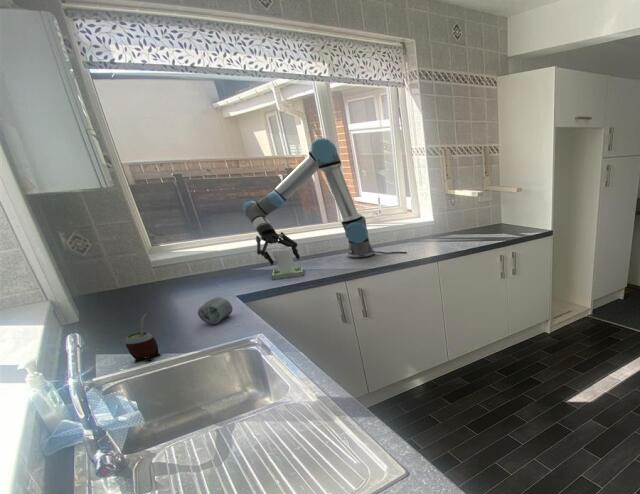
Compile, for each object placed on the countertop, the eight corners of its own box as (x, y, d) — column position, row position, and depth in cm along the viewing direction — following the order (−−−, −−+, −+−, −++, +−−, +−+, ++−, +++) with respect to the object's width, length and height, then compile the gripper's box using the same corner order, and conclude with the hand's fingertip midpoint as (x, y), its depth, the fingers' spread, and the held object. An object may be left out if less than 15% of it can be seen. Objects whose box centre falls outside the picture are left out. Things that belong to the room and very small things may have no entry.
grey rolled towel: (221, 318, 153) (204, 294, 152) (200, 330, 154) (184, 307, 153) (245, 314, 167) (230, 291, 165) (226, 325, 168) (211, 303, 166)
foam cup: (278, 272, 222) (271, 248, 216) (297, 270, 226) (291, 246, 220) (278, 277, 214) (270, 251, 209) (297, 274, 218) (291, 249, 212)
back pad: (303, 270, 228) (302, 266, 227) (303, 275, 218) (302, 271, 217) (274, 274, 222) (272, 270, 221) (272, 279, 213) (271, 275, 212)
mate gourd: (131, 359, 132) (110, 314, 125) (162, 350, 137) (143, 307, 131) (136, 366, 127) (115, 320, 121) (168, 356, 133) (148, 312, 126)
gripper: (286, 229, 230) (307, 260, 228) (238, 236, 212) (260, 270, 210) (289, 220, 224) (310, 251, 223) (239, 227, 207) (261, 261, 205)
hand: (285, 260), depth 216 cm, fingers open, 13 cm apart
